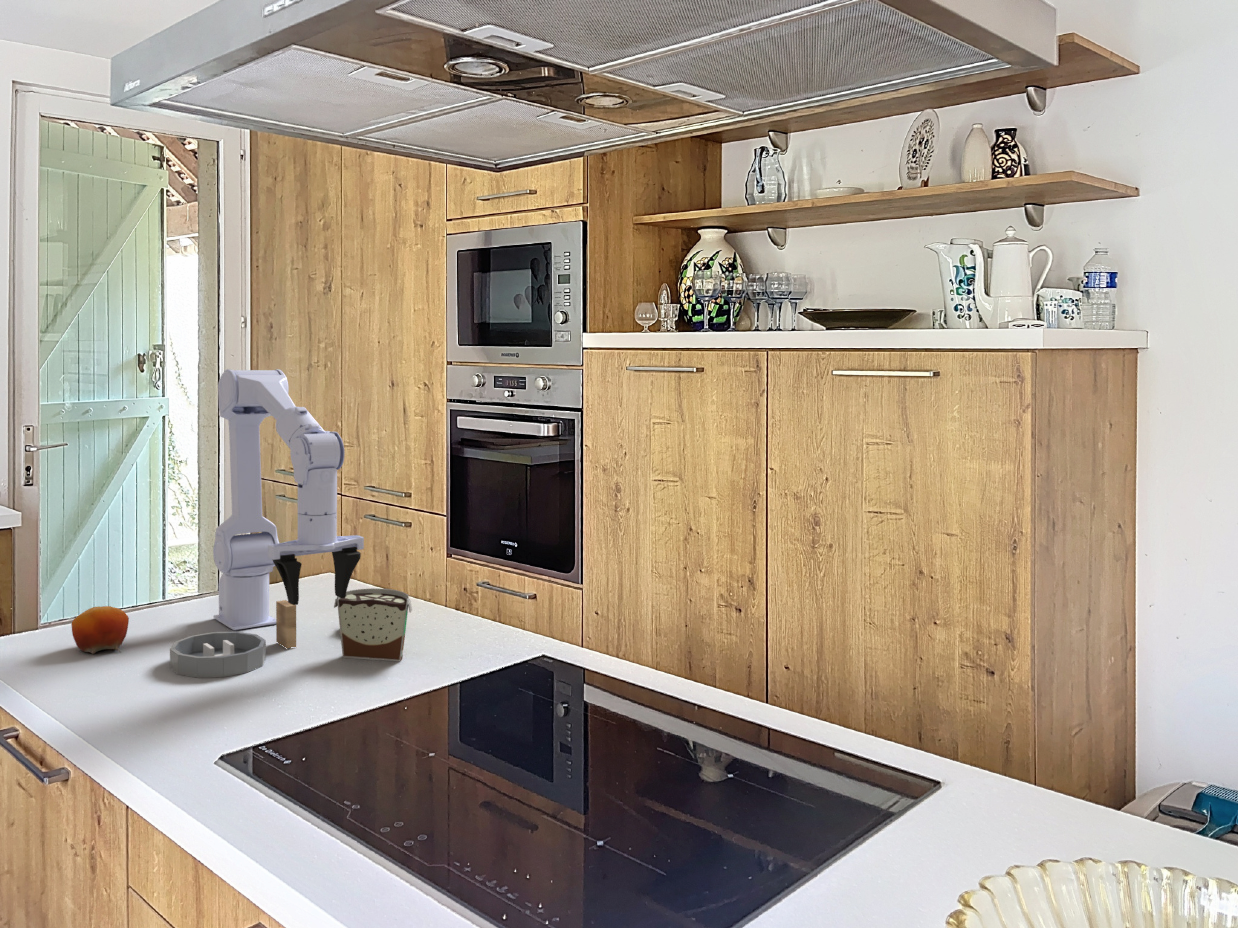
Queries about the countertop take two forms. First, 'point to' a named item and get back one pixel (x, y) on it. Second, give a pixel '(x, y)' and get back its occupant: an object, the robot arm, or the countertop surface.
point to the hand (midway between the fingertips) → (317, 599)
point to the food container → (373, 623)
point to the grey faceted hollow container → (217, 654)
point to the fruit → (100, 629)
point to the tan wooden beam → (286, 624)
